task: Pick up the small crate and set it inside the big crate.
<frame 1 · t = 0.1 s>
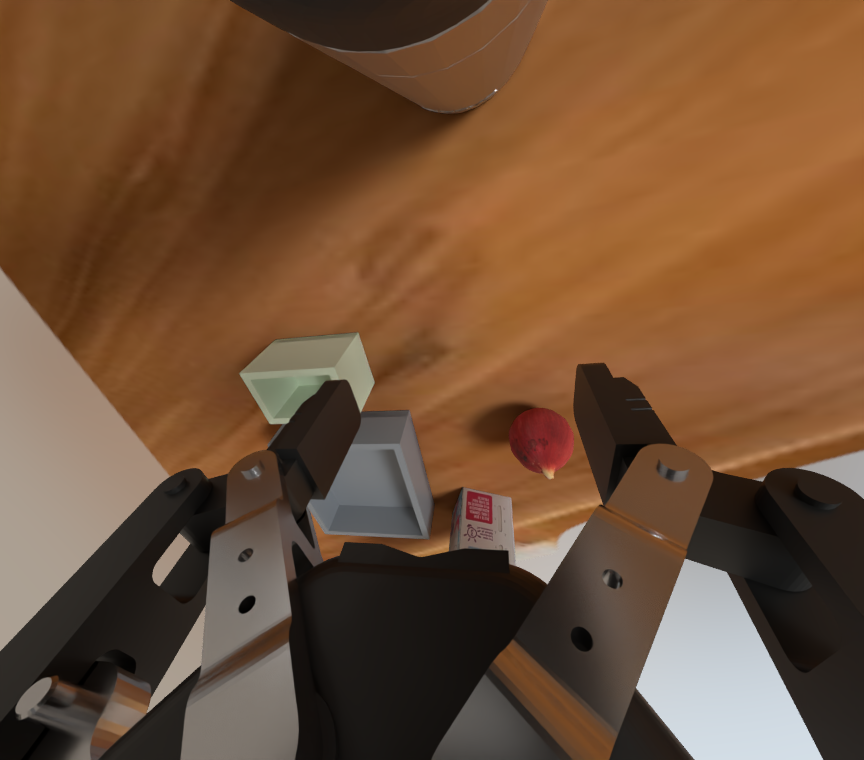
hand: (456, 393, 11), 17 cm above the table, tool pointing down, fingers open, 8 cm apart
onion: (535, 411, 34), on the table
milk carton: (480, 504, 45), on the table
small crate: (326, 361, 33), on the table
big crate: (368, 463, 42), on the table
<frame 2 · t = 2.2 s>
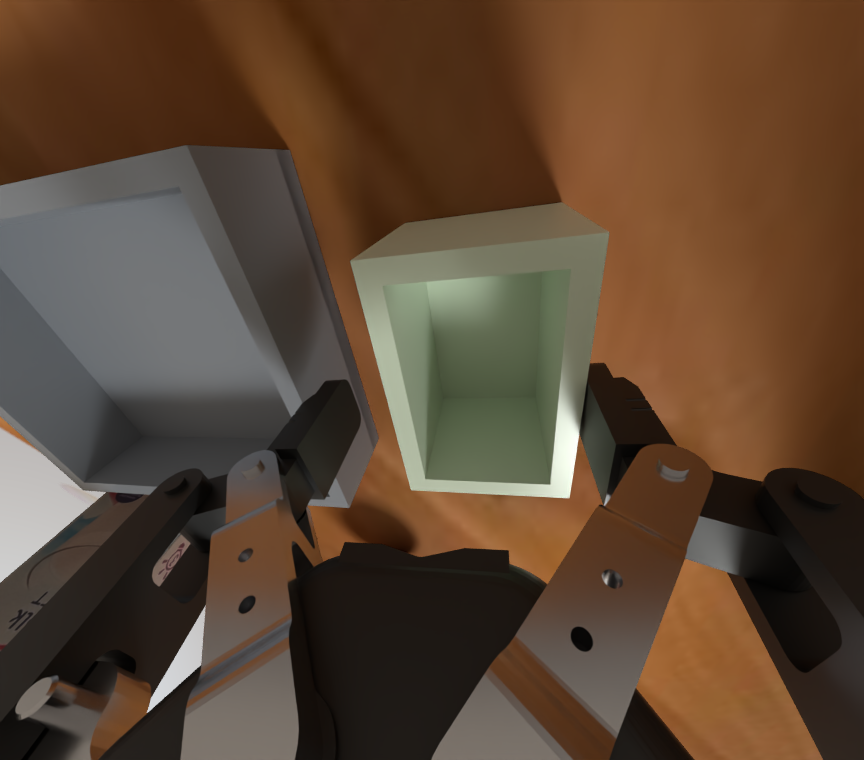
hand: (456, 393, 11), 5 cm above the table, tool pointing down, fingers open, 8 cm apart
milk carton: (200, 488, 28), on the table
small crate: (485, 321, 15), on the table
big crate: (199, 338, 18), on the table
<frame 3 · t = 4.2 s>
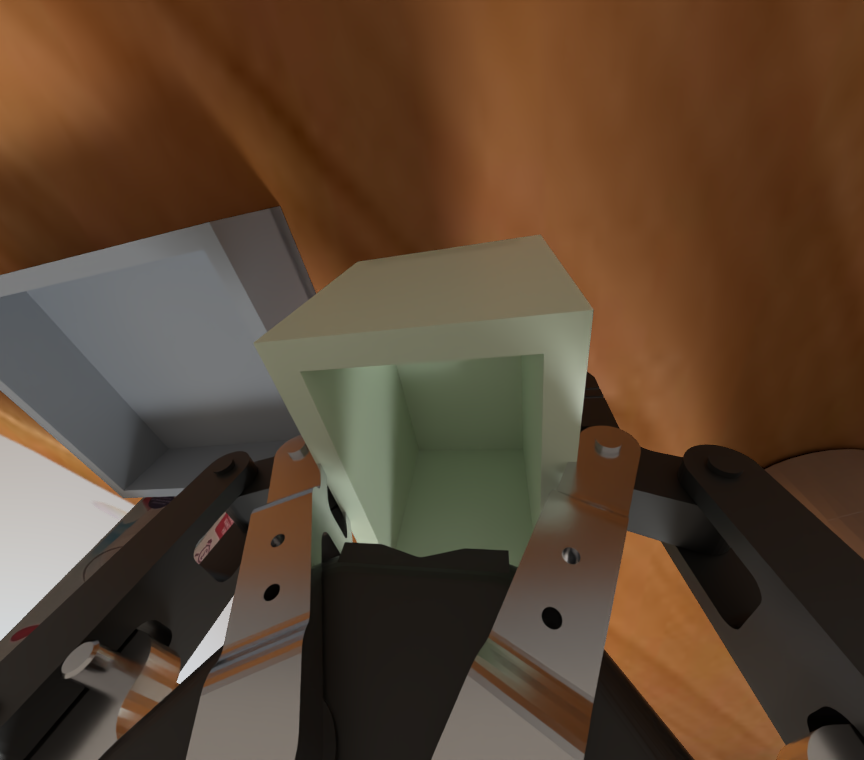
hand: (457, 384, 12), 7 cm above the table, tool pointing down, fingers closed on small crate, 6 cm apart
milk carton: (220, 493, 31), on the table
small crate: (460, 367, 13), point 6 cm above the table, touching gripper
big crate: (214, 359, 22), on the table
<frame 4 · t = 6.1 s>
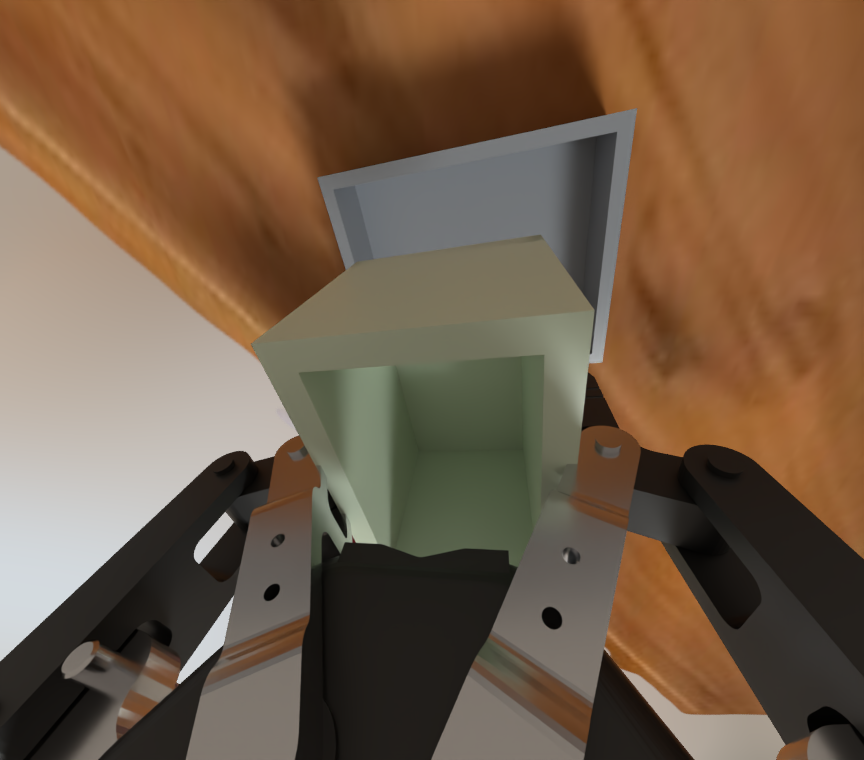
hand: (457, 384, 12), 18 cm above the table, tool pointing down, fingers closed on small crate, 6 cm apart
small crate: (459, 367, 13), point 17 cm above the table, touching gripper
big crate: (475, 260, 26), on the table
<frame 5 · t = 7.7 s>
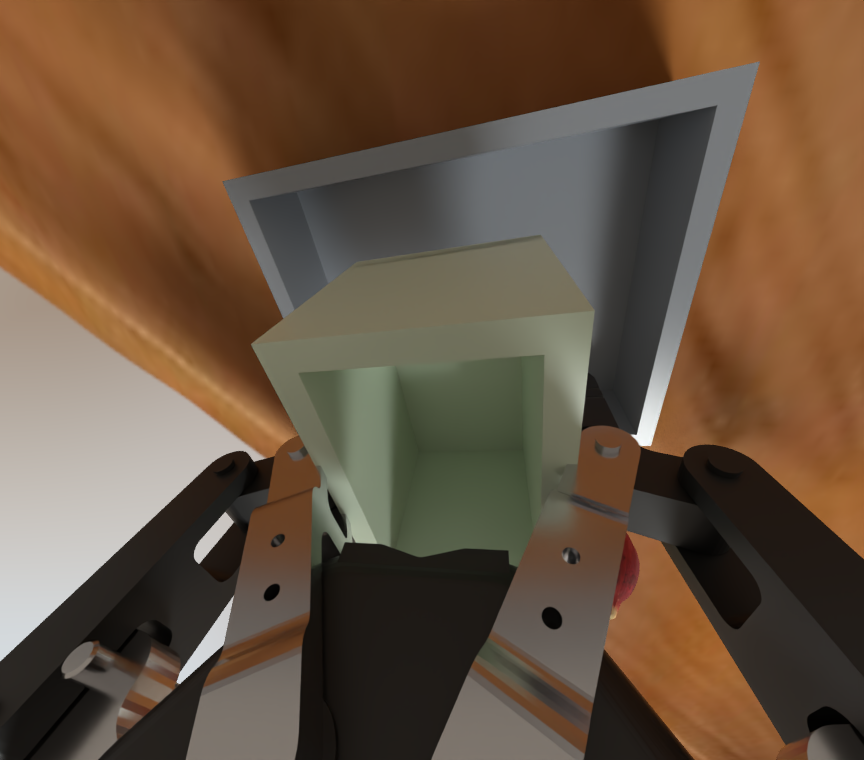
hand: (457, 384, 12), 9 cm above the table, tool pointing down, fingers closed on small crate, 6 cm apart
onion: (584, 511, 29), on the table
small crate: (459, 367, 13), point 8 cm above the table, touching gripper
big crate: (471, 295, 19), on the table
when the fingers open (4 cm above the table, at t = 9.3 s): small crate drops 1 cm, resting on big crate.
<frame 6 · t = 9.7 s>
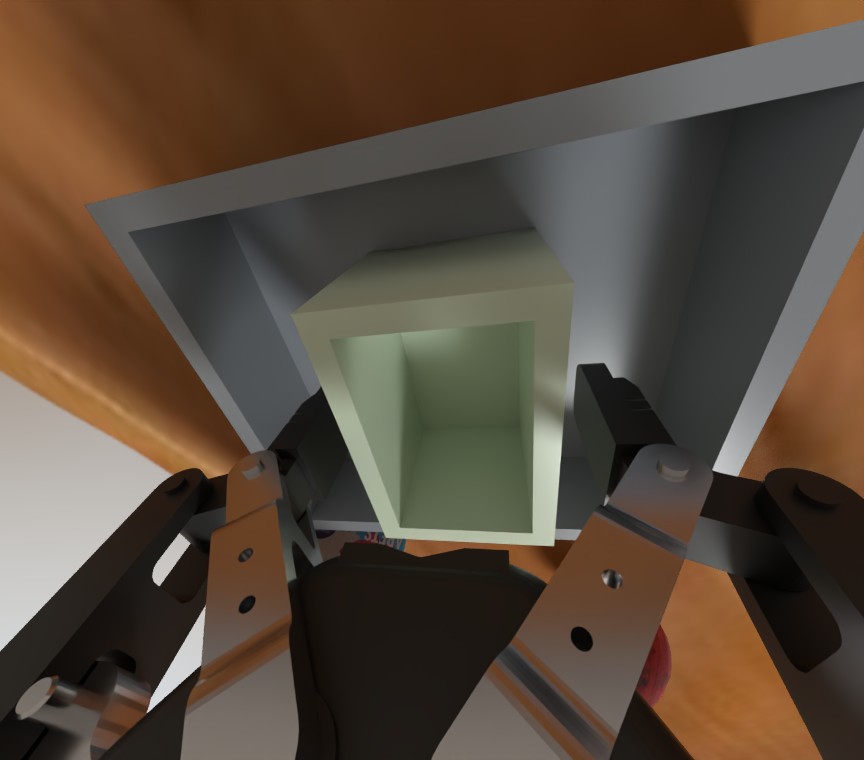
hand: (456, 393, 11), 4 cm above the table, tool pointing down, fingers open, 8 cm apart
onion: (599, 575, 25), on the table
milk carton: (367, 513, 24), on the table
small crate: (462, 350, 14), point 1 cm above the table, touching big crate
big crate: (463, 340, 15), on the table
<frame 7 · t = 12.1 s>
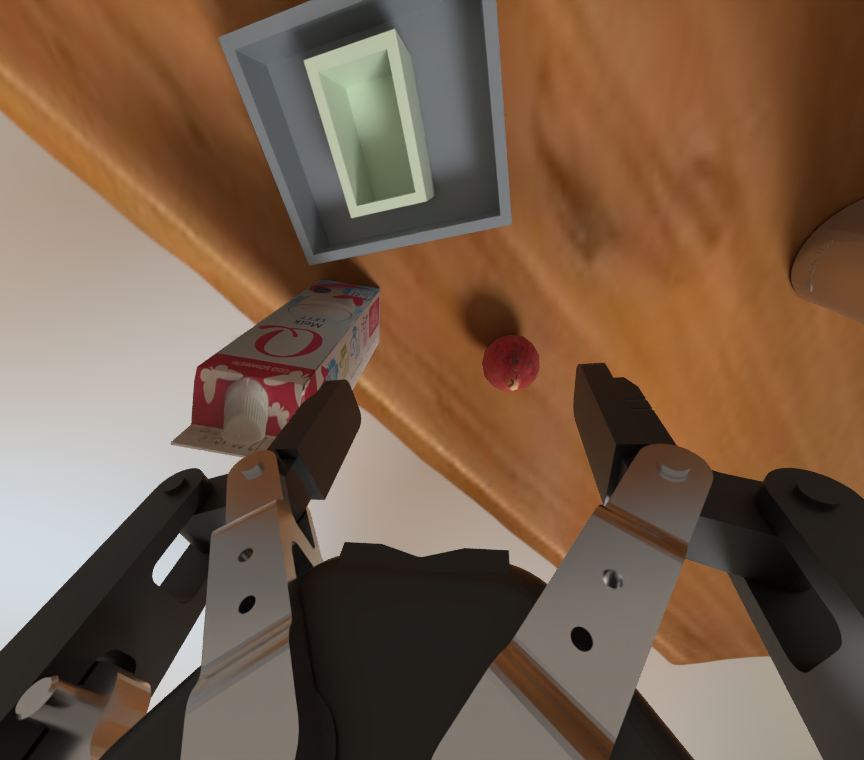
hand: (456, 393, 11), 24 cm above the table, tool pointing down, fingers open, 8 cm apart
onion: (507, 346, 37), on the table
milk carton: (351, 311, 37), on the table
small crate: (390, 142, 27), point 1 cm above the table, touching big crate
big crate: (392, 143, 28), on the table
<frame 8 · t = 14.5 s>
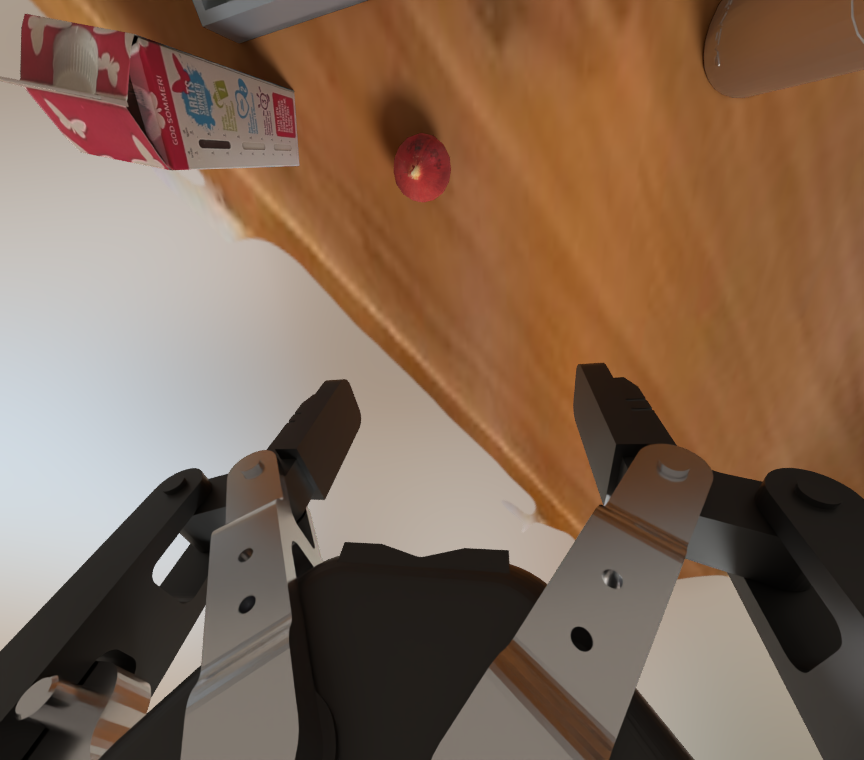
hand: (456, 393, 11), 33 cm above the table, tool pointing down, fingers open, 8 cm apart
onion: (428, 168, 36), on the table
milk carton: (268, 124, 36), on the table
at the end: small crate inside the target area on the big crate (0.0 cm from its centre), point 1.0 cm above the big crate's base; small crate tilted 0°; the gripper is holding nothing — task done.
